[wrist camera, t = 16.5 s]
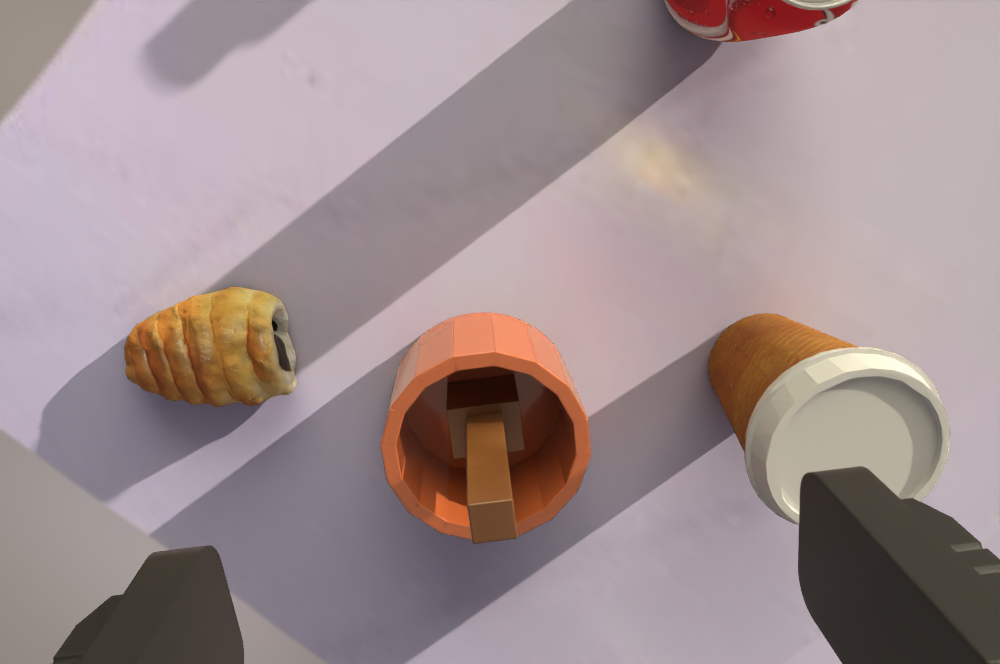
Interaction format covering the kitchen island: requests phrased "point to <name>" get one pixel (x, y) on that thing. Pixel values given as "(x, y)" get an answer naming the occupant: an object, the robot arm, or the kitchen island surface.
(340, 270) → the kitchen island surface
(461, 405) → the wooden mallet
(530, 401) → the crock
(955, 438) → the kitchen island surface
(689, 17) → the soda can
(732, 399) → the disposable coffee cup
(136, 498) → the kitchen island surface
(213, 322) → the pastry
